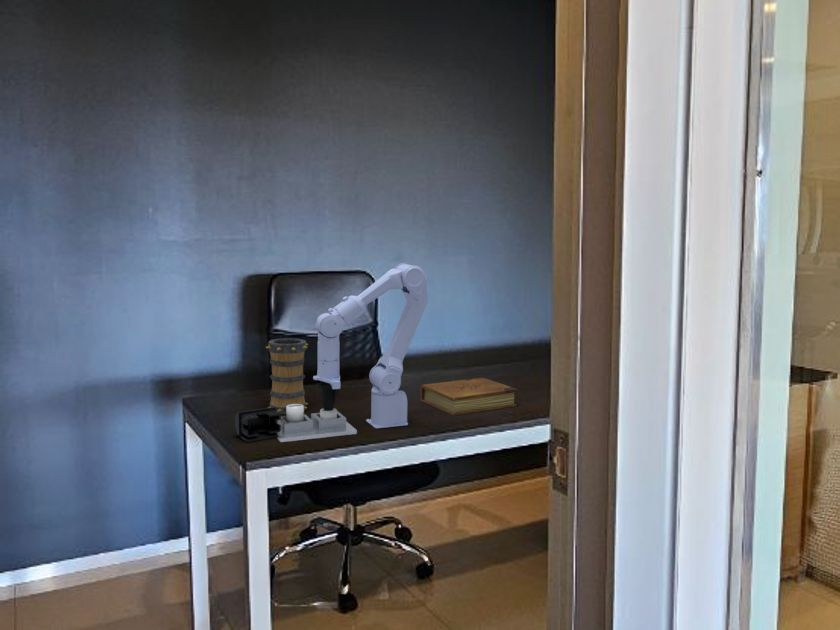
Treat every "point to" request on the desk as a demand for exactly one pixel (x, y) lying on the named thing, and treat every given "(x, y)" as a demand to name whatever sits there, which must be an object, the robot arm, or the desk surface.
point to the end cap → (257, 424)
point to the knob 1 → (294, 413)
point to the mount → (314, 428)
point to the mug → (287, 373)
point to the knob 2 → (328, 414)
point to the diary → (468, 395)
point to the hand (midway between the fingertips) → (328, 409)
